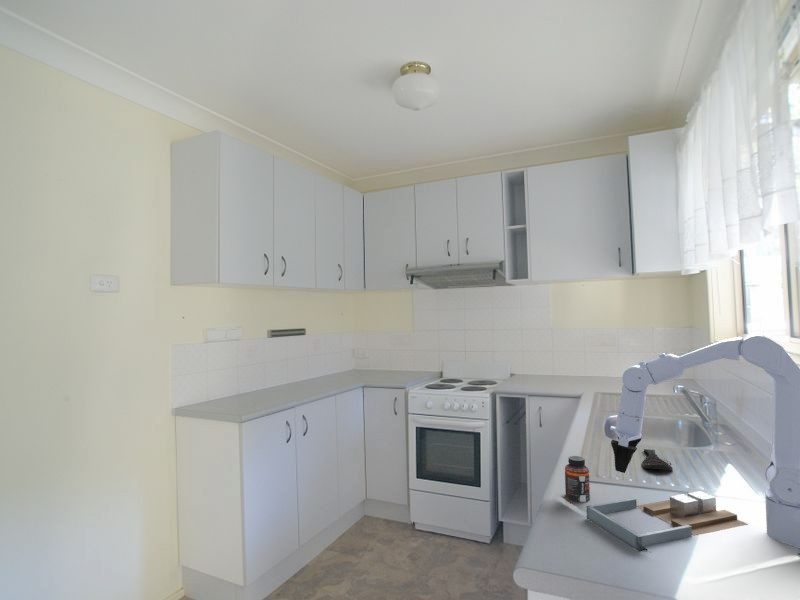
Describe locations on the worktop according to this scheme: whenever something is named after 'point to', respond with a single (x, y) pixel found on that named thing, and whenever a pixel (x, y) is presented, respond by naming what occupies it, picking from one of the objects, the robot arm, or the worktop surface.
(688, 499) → the chip
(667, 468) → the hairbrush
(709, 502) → the chip
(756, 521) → the worktop surface
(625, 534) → the tray
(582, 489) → the supplement bottle
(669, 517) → the slot board
